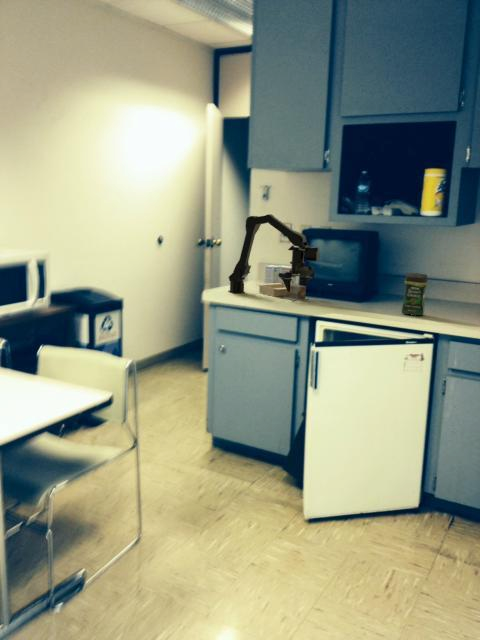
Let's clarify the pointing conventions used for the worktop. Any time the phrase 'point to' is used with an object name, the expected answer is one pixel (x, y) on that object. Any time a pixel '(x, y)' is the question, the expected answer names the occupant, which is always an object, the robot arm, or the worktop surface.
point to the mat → (294, 299)
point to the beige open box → (273, 289)
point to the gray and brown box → (296, 292)
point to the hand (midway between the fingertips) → (295, 291)
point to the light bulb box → (272, 274)
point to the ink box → (288, 268)
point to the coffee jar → (414, 294)
